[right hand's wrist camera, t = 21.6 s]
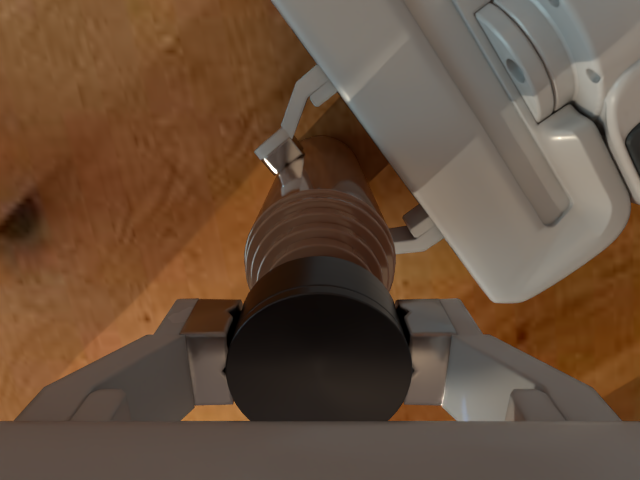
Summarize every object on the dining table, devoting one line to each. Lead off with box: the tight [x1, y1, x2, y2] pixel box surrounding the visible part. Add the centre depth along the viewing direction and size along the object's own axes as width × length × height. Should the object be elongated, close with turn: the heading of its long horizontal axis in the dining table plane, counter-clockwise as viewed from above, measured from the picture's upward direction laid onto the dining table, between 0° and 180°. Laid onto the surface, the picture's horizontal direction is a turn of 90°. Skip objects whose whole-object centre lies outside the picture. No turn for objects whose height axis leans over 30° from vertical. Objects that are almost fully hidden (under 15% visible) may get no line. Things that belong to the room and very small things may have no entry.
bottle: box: [244, 136, 396, 292], centre depth 17 cm, size 5×5×18 cm
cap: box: [225, 256, 412, 421], centre depth 9 cm, size 4×4×2 cm
